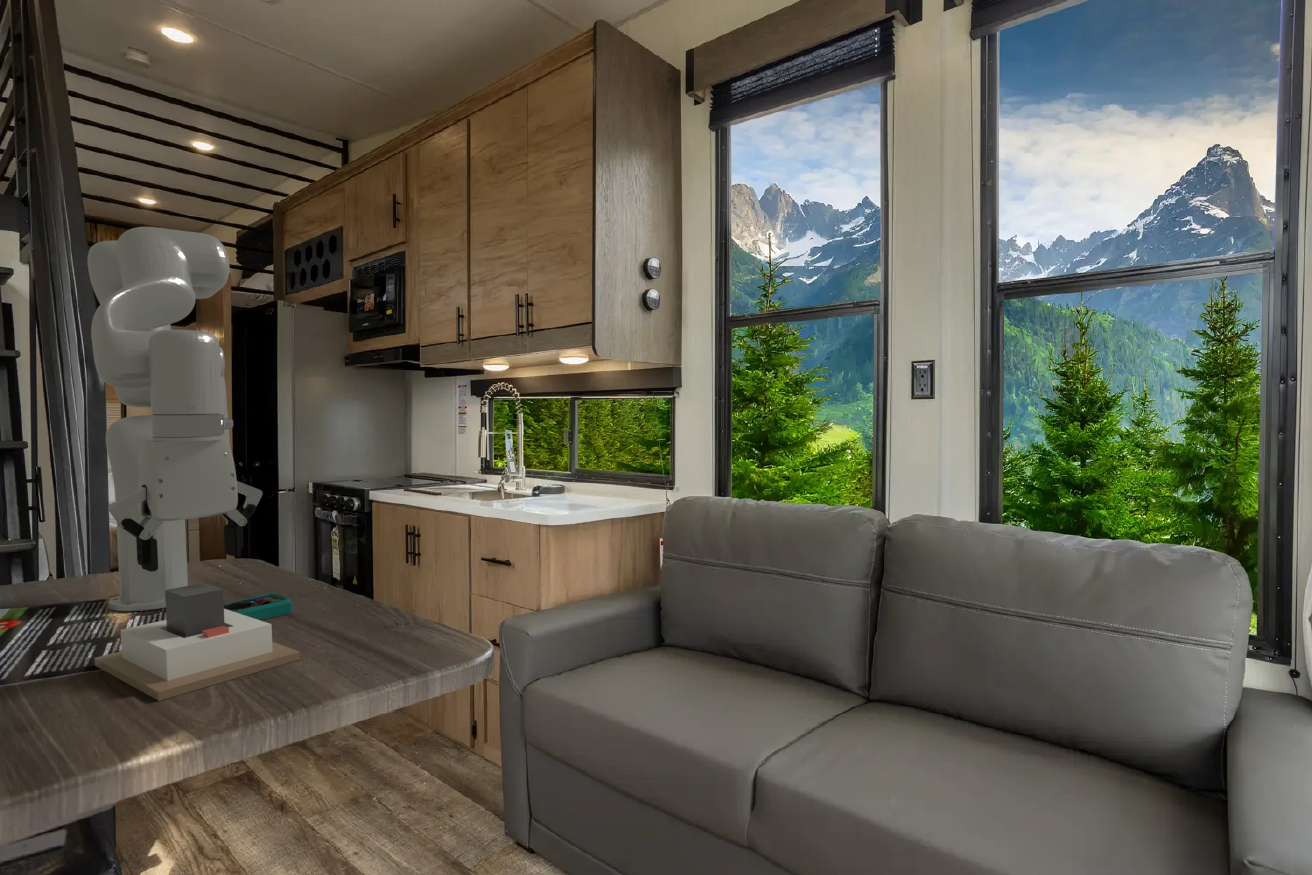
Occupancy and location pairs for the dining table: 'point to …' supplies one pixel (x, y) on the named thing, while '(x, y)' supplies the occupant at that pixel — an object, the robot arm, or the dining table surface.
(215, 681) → the socket
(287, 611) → the digital multimeter
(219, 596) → the plug
